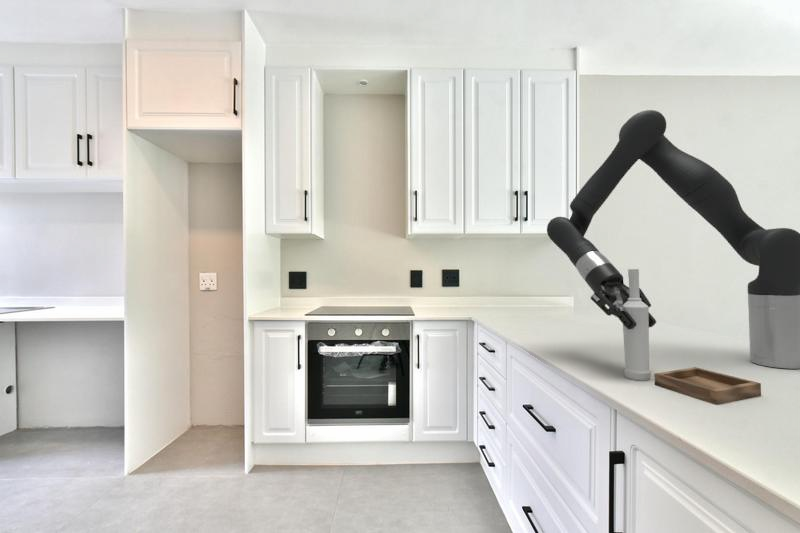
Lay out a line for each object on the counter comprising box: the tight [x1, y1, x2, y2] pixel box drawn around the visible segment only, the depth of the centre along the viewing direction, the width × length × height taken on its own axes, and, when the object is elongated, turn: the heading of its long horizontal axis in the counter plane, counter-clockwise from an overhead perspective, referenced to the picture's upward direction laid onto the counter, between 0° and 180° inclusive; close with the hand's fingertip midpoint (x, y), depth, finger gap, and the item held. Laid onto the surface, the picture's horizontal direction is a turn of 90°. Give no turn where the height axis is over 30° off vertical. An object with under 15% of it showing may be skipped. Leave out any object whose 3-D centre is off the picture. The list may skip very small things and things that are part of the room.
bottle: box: [622, 268, 652, 382], centre depth 83 cm, size 5×5×25 cm
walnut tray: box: [654, 366, 762, 405], centre depth 74 cm, size 12×12×2 cm
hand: (642, 325), depth 82 cm, fingers closed on bottle, 5 cm apart
